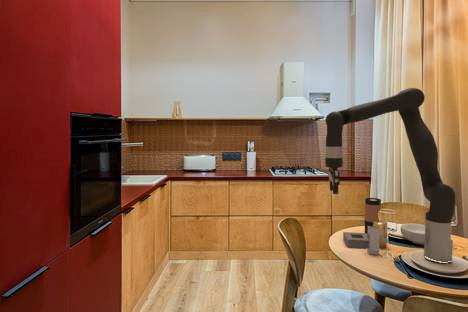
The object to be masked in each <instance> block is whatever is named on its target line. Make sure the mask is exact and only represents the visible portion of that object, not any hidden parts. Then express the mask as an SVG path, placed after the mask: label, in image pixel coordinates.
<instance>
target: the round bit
mask: <svg viewBox="0 0 468 312" xmlns="http://www.w3.org/2000/svg"><path fill="white" fill-rule="evenodd" d="M373 226H377V227H378V228H379V229H380V236H379V250H386V249H387V248H388V246H387V245H388V222H387V221H384V220H381V221H374V223H373Z"/></svg>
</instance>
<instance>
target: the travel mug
mask: <svg viewBox="0 0 468 312" xmlns="http://www.w3.org/2000/svg"><path fill="white" fill-rule="evenodd" d="M380 210H381V211H382V199H381V198H376V197H365V200H364V233H366V234H367V235H368V226H373V223H374V221H379V219H378V211H380Z"/></svg>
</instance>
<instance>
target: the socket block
mask: <svg viewBox="0 0 468 312" xmlns="http://www.w3.org/2000/svg"><path fill="white" fill-rule="evenodd" d="M342 234H343V235H342V240H343V242H344V244H345V246H346V248H350V249H353V248H354V249H366V250H367V236H368V235H367V234H366V233H365V232H349V231H343V233H342Z"/></svg>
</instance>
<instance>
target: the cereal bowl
mask: <svg viewBox="0 0 468 312" xmlns="http://www.w3.org/2000/svg"><path fill="white" fill-rule="evenodd" d="M400 234H401V235H402V236H403V237H404V238H405V239H406V240H408V241H410V242H411V241H412V242H411V243H413V244H417V245H423V246H424V243H425V224H422V223H421V224H420V223H403V224H401V225H400Z"/></svg>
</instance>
